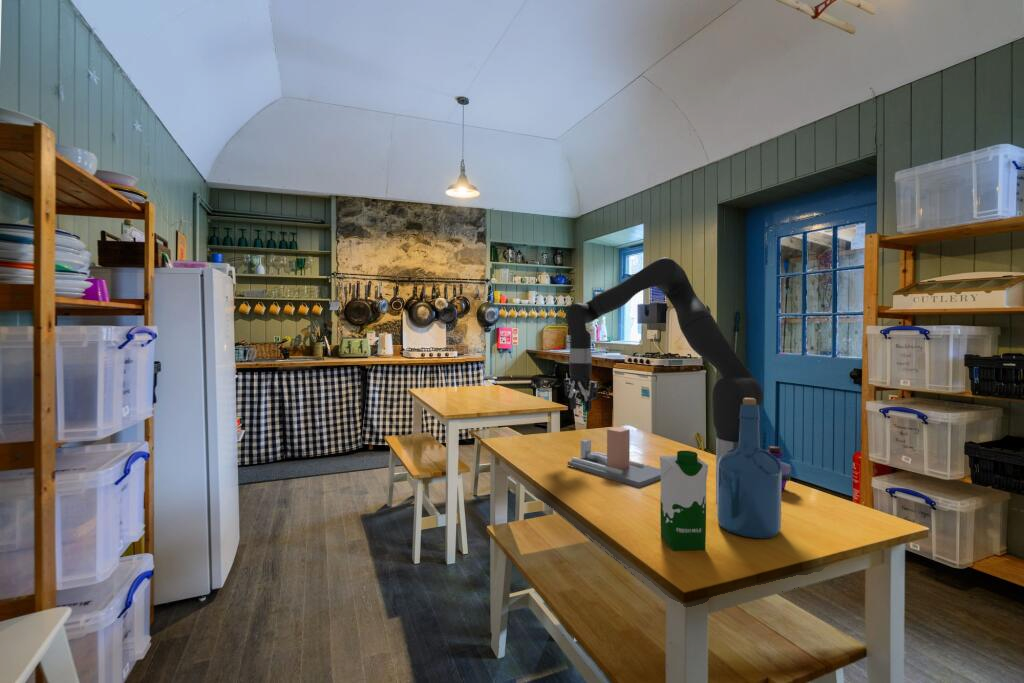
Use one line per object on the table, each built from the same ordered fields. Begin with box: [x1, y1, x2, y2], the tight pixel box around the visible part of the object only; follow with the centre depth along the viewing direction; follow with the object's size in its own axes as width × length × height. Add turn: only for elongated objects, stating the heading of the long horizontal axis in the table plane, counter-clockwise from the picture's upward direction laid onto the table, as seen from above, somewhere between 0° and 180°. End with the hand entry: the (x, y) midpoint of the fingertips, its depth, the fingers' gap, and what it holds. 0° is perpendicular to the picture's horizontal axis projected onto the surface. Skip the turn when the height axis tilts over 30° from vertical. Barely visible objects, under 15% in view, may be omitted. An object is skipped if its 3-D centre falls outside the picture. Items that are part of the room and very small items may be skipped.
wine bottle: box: [716, 398, 782, 539], centre depth 110 cm, size 14×13×30 cm
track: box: [567, 451, 661, 488], centre depth 154 cm, size 16×28×2 cm, turn 41°
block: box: [606, 426, 631, 470], centre depth 153 cm, size 5×5×12 cm
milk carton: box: [659, 450, 709, 551], centre depth 103 cm, size 9×9×20 cm
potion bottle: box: [765, 445, 792, 490], centre depth 137 cm, size 9×9×12 cm
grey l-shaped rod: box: [580, 438, 607, 465], centre depth 160 cm, size 4×12×6 cm, turn 40°
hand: (580, 409), depth 165 cm, fingers open, 6 cm apart
